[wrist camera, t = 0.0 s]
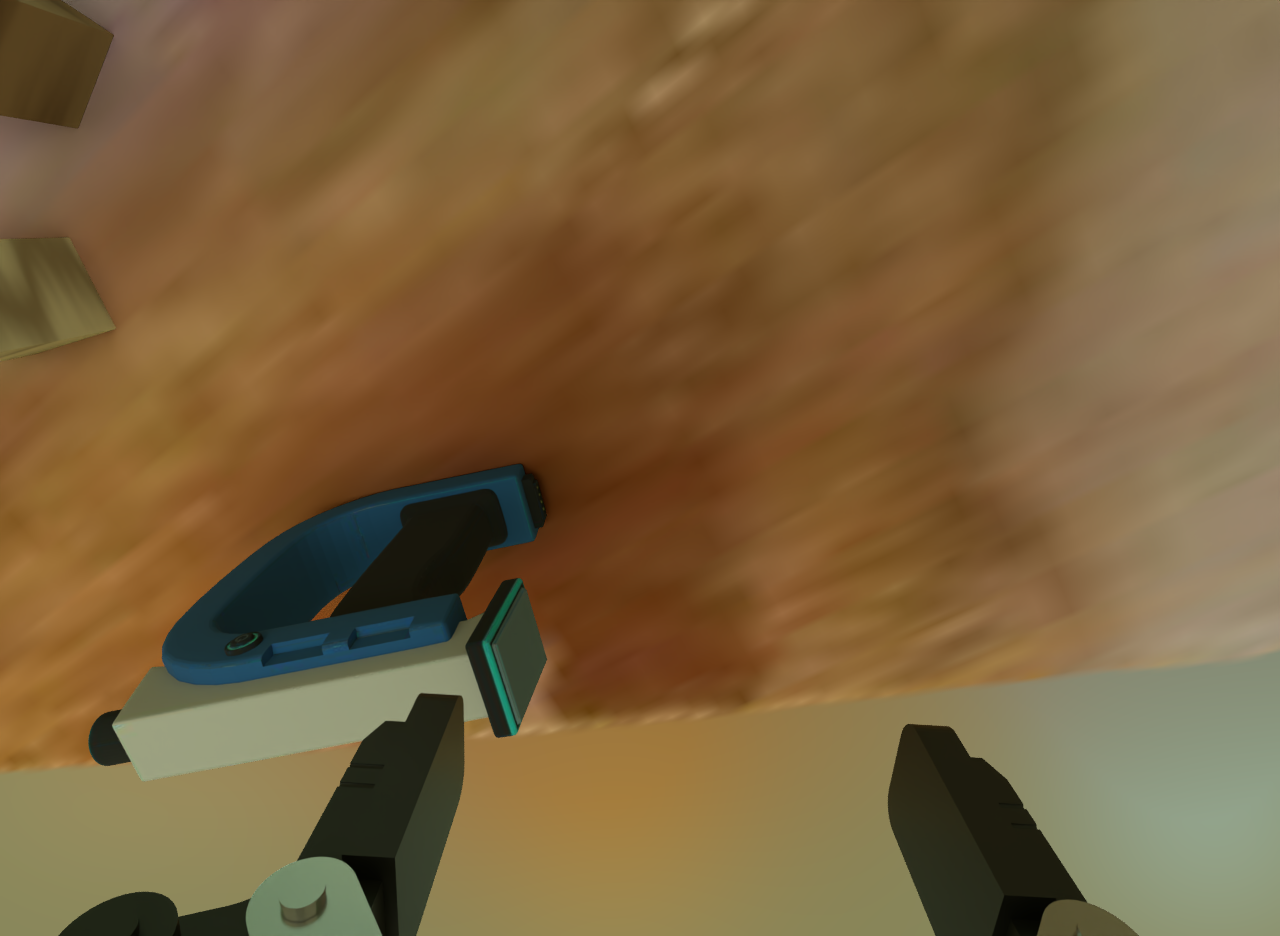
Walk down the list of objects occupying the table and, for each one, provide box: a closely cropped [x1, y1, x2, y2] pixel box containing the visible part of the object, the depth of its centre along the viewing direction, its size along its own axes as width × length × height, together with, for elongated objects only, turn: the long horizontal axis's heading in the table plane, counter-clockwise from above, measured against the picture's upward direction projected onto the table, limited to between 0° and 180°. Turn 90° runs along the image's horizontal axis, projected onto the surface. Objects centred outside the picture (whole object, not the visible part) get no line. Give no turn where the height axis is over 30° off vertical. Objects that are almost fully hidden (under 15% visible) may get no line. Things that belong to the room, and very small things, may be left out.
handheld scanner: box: [89, 464, 547, 781], centre depth 34 cm, size 5×16×20 cm, turn 102°
